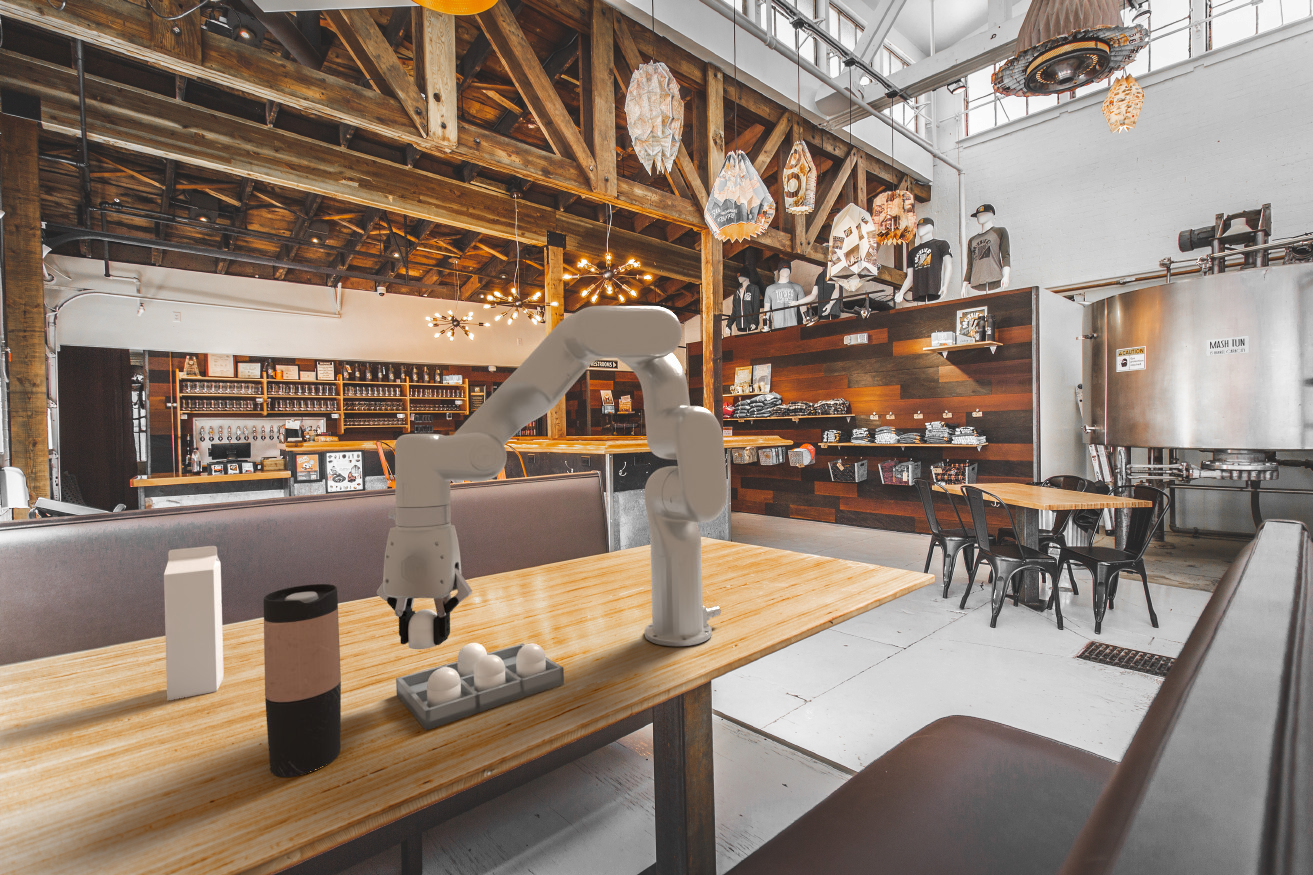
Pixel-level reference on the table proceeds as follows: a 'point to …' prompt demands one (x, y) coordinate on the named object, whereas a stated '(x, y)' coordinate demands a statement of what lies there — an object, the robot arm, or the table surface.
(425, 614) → the egg
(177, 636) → the milk
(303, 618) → the travel mug
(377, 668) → the table surface
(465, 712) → the carton
